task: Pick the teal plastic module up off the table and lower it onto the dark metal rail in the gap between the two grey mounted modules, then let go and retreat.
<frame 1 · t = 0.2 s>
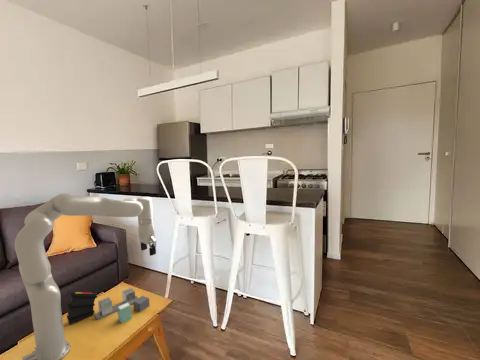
hand: (148, 252, 135), 30 cm above the table, fingers open, 9 cm apart
gray brick: (141, 307, 137), on the table
module: (125, 319, 128), on the table
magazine: (83, 317, 130), on the table
rail: (118, 307, 137), on the table
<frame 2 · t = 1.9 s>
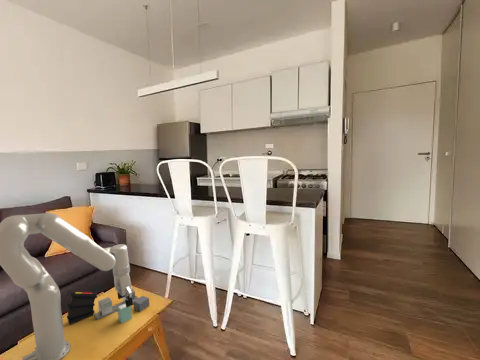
hand: (125, 301, 128), 9 cm above the table, fingers open, 9 cm apart
nothing on the table moved.
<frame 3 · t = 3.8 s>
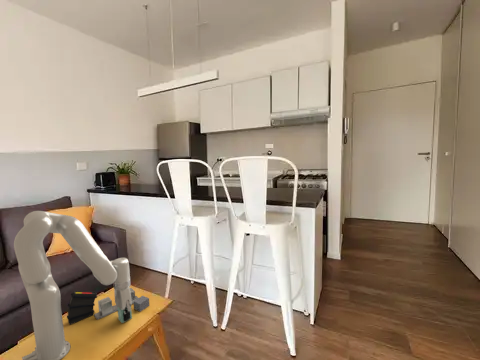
hand: (125, 317, 128), 1 cm above the table, fingers closed on module, 4 cm apart
module: (125, 318, 128), on the table, touching gripper
everything else where it was.
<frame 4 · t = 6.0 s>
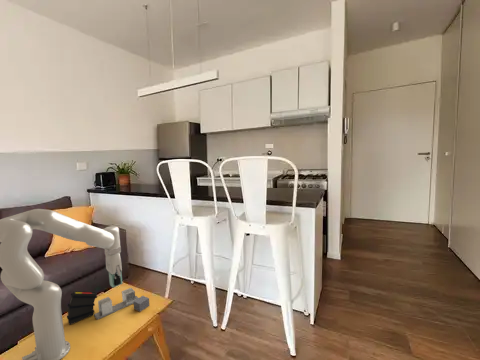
hand: (115, 282, 136), 14 cm above the table, fingers closed on module, 4 cm apart
module: (116, 284, 136), point 13 cm above the table, touching gripper
everything else where it was.
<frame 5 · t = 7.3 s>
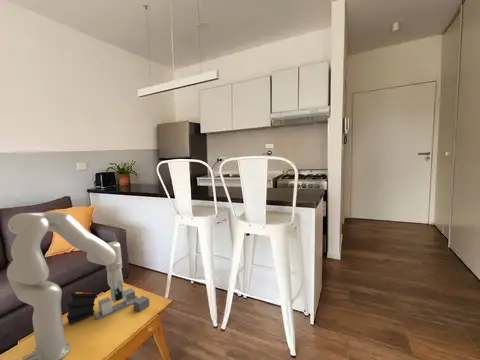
hand: (117, 297, 137), 6 cm above the table, fingers closed on module, 4 cm apart
module: (117, 298, 137), point 5 cm above the table, touching gripper
everything else where it was.
when the fingers open (4 cm above the table, at t = 8.5 s): module drops 2 cm, resting on rail.
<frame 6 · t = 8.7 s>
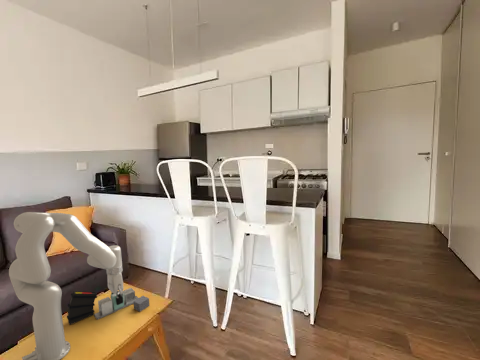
hand: (117, 300, 137), 4 cm above the table, fingers open, 6 cm apart
module: (118, 306, 137), point 1 cm above the table, touching rail
everything else where it was.
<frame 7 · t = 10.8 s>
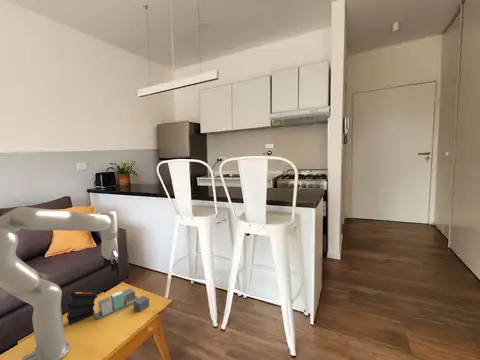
hand: (111, 267, 131), 24 cm above the table, fingers open, 9 cm apart
nothing on the table moved.
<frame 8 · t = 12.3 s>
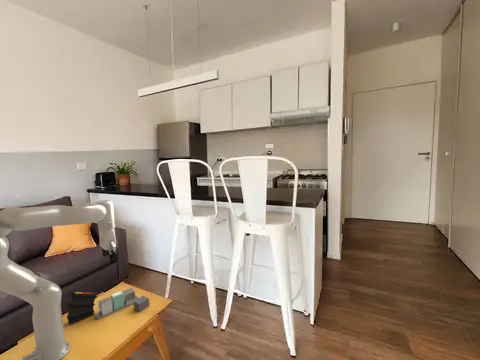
hand: (109, 258, 128), 30 cm above the table, fingers open, 9 cm apart
nothing on the table moved.
at the end: module 0.1 cm off-centre on the rail, point 1.0 cm above the rail's base; module tilted 0°; the gripper is holding nothing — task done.
